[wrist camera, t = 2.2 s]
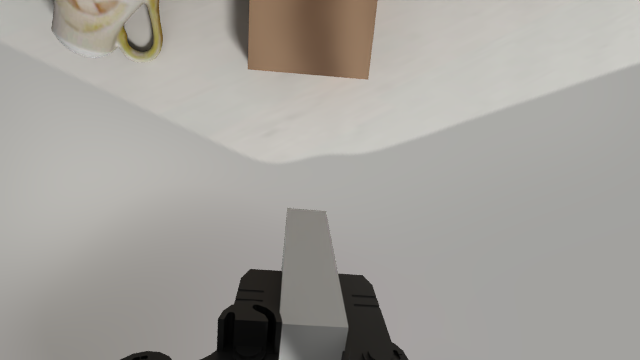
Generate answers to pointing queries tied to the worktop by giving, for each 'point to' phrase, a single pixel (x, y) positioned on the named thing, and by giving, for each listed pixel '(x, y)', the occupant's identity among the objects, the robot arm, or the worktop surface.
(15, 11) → the worktop surface
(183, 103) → the worktop surface
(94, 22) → the mug
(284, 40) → the slab
